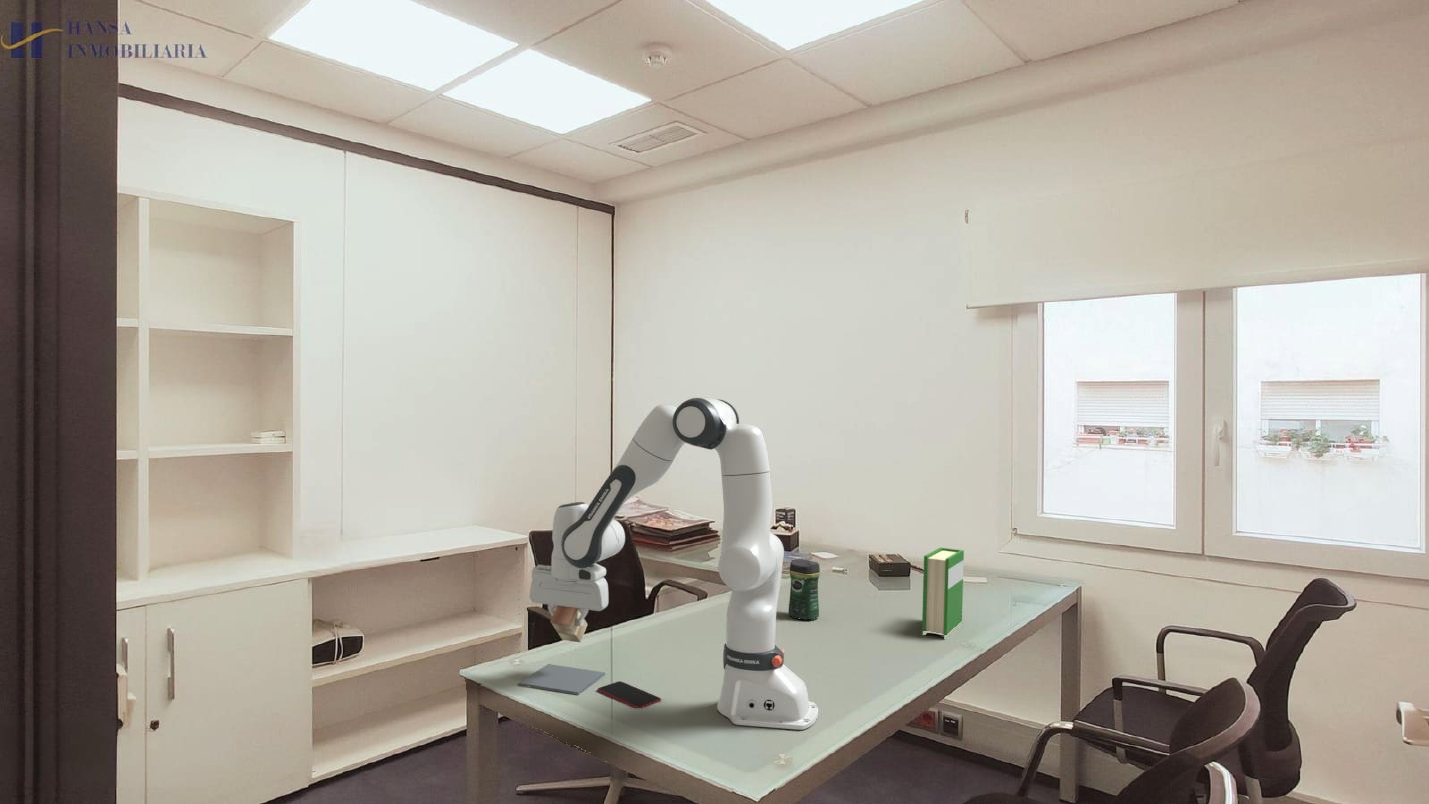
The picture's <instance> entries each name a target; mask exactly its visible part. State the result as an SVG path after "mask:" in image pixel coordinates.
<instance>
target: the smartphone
mask: <svg viewBox="0 0 1429 804" xmlns="http://www.w3.org/2000/svg"><path fill="white" fill-rule="evenodd" d="M597 692H598V693H600V694H602V695H604V694H605V695H604V696H607V695H608V696H607V697H609V696H610V697H609V698H611V697H612V698H611V699H613V698H614V699H613V700H616V701H618V702H620V703H622V702H623V704H625V703H626V704H625V705H627V704H628V705H627V706H629V705H630V706H629V707H632V708H634V707H635V709H636V708H642V709H643V707H644V708H647V707H649V705H650V706H652V705H654V703H655V704H657V702H658V703H660V702H661V701H662V698H661V697H659V696H656V695H654V694H652V693H649V692H647V691H646V690H643V689H640V688H638V687H635V686H633V685H630V684H628V683H626V682H623V681H616V682H612V683H610V684H607V685H603V686H601V687H598V688H597ZM651 704H652V705H651ZM646 706H647V707H646Z"/></svg>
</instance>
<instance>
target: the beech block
mask: <svg viewBox="0 0 1429 804" xmlns="http://www.w3.org/2000/svg"><path fill="white" fill-rule="evenodd" d="M580 615H581V613H580V612H579V608H572V607H564V606H557V607H556V609H555V611H554V613H553V616H551V618H550V623H551V625H552V626H553V628H554V629H555V631H556V632H557V633H558V635H559V637H560V639H561V640H562V641H568V642H575V643H581V642H582V639H583V637H584V634H585V632H586V630H587V627H588V623H587V621H586V619H585V618H584V624H583V626H581V627H579V626H575V619H576V618H578V617H580Z"/></svg>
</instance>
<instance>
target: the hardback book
mask: <svg viewBox="0 0 1429 804" xmlns="http://www.w3.org/2000/svg"><path fill="white" fill-rule="evenodd" d="M964 554H965V551H964V550H963V549H955V548H948V547H946V548H945V547H938V548H936V549H934V550H933V551H931V552H929V553H927V554H925V555H924V556H923V581H922V582H923V583H922V586H923V587H922V615H921V616H922V619H921V623H922V624H921V632H922V631H931V632H936V633H942V634H944V635H947V634H948V633H949V632H950V631H951V630H952V629H953V628H954V627H956V626H957V625H958V624H959V623H960V622H961V621H962V622H963V595H964V591H963V590H964V557H965V556H964Z"/></svg>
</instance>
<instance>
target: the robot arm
mask: <svg viewBox="0 0 1429 804" xmlns="http://www.w3.org/2000/svg"><path fill="white" fill-rule="evenodd" d="M685 444H688V445H690V446H693V447H698V448H702V449H707V450H714V451H716V453H717V455H718V456H719V461H720V473H721V487H722V500H723V522H722V533H721V548H720V549H721V551H720V556H719V560H718V564H717V565H718V567H717V568H718V573H719V577H720V579H721V580H722V582H723V583H724V584H725V585H726V586H727V587H728V588H730V589H731V594H730V598H729V602H728V604H727V610H726V629H725V630H726V631H725V632H726V635H725V637H726V638H725V643H724V645H723V653H722V655H723V656H722V665H723V670H724V671H723V679H722V680H723V681H722V685H721V691H720V695H719V699H718V702H717V705H716V708H717V711H718V712H719V713H720V714H722V715H723V716H725V717H727V718H728V719H729V720H730V721H731V722H732V724H734V725H737V726H745V727H746V726H748V727H761V728H771V729H772V728H773V729H784V730H785V729H786V730H787V729H788V730H799V731H801V730H805V729H808V728H811V726H813V725H814V724H815V723H816V721H817V720H818V717H819V708H818V705H817V704H816V703H815V702H813V701H810V699H809V694H808V688H807V686H806V683H805V682H804V680H802V679H801V678H800V677H799V676H798V675H796V674H795V673H794V672H793V670H790V669H789V668H788V666H787V665H785V664H784V661H785V658H784V657H785V656H784V655H785V648H783V649H782V650H781V649H780V648H779V646H777V645H776V630H777V629H776V628H777V626H776V625H777V610H778V608H777V607H778V602H779V601H778V600H779V595H780V589H781V583H782V582H781V581H782V573H783V572H782V571H783V564H784V562H783V561H784V556H785V549H784V548H785V547H784V544H783V542H782V541H781V539H780V538H779V537H778V536H777V534H774V533H772V532H771V523H772V514H773V509H774V508H773V507H774V504H773V503H774V502H773V500H774V499H773V488H772V479H771V478H772V477H771V467H770V466H771V465H770V460H769V453H768V448H767V444H766V441H765V437H764V435H763V432H762V430H761V429H760V428H759V427H757V426H755V425H754V424H753V425H752V424H749V423H740V417H739V414H738V412H737V410H736V408H735V407H734V405H732V404H731V403H729V402H727V401H725V400H724V399H716V398H714V397H693V398H688V399H687V400H685V401H683V402H681V404H680V405H678V407H676V406H674V405H672V404H667V403H661V404H658V405H656V406H655V407H654V408H652V410H651V411H650V412H649V413H648V414H647V416H645V418H644V419H643V421H642V422H641V424H640V425H639V427H638V428H637V430H636V431H635V433H634V435H633V437H632V438H631V439H630V442H629V443H628V445H627V446H626V449H625V451H624V452H623V454H622V455H621V458H620V459H619V461H618V462H617V464H616V465H615V467H614V468H613V470H612V471H611V472H610V474H609V475H608V477H607V478H606V480H605V481H604V483H603V485H601V486H600V488H599V489H598V491H597V492H596V495H595V496H594V497H593V499H592V501H591V502H590V504H588V503H586V502H584V501H578V502H577V501H576V502H570V503H565V504H561V505H559V506H558V507H557V508H556V509H555V511H554V512H555V513H554V516H553V521H552V533H551V534H552V536H551V540H552V543H553V549H552V552H551V565H543V564H537V565H536V566H534V567H533V568H532V570H531V582H530V583H531V584H530V590H529V599H530V602H531V603H535V604H542V605H547V610H548V611H549V614H550V615H551V617H552V616H553V613H554V611H555V609H556V607H557V606H564V607H572V608H578V609H579V612H580V613H581V615H580V617H578V618H576V619H575V626H579V627H581V626H583V624H584V619H585V617H587V615H588V613H589V611H595V612H602V611H603V610H604V609H606V608H607V607H608V605H609V584H608V582H607V581H608V580H606V578H605V577H606V575H607V569H606V567H604V566H602V565H600V564H598V562H601V561H603V560H606V559H608V558H610V557H614V556H615V555H616V554H619V553H620V552H621V551H622V550H623V549H624V547H625V544H626V532H625V529H624V527H623V525H622V524H621V523H620V521H618V520H617V519H615V517H616V516H617V514H618V513H619V511H620V509H621V508H622V507H623V505H624V504H625V503H626V502H627V501H628V500H629V499H631V497H633V496H634V495H636V494H638V493H640V492H641V491H643V490H645V489H647V488H649V487H651V486H653V485H655V484H657V483H658V482H659V481H660V480H661V478H662V477H663V476H664V475H665V474H666V472H668V470H669V468H670V467H671V466H672V464H673V462H674V460H675V459H676V457H677V455H678V453H679V452H680V450H681V449H682V447H683V446H684V445H685ZM816 719H817V720H816Z"/></svg>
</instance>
